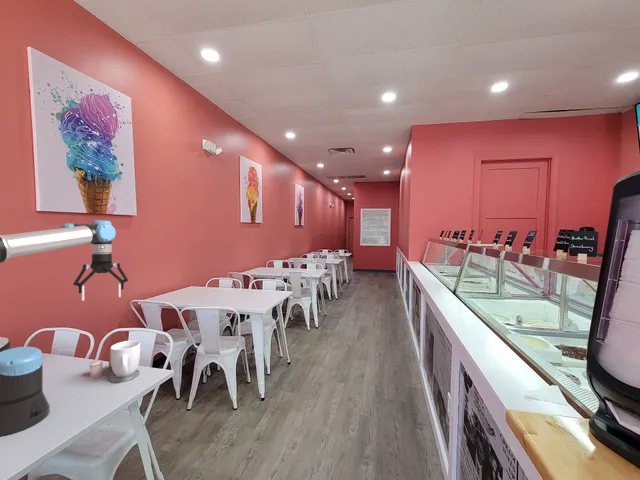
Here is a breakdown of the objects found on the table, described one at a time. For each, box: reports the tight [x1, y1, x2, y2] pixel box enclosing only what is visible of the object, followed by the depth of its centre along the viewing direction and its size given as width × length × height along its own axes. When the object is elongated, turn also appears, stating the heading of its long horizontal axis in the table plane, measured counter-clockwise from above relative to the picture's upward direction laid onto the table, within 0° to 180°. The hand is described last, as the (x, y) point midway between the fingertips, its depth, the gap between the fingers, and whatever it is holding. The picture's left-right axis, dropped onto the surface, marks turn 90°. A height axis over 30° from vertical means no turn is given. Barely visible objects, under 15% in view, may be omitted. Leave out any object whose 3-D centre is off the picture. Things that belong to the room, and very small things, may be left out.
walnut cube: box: [108, 359, 113, 372], centre depth 133 cm, size 4×4×4 cm
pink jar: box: [89, 359, 104, 379], centre depth 126 cm, size 5×5×6 cm
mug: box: [109, 340, 141, 377], centre depth 125 cm, size 15×11×13 cm
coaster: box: [108, 369, 140, 384], centre depth 125 cm, size 11×11×1 cm
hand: (102, 298), depth 133 cm, fingers open, 13 cm apart
